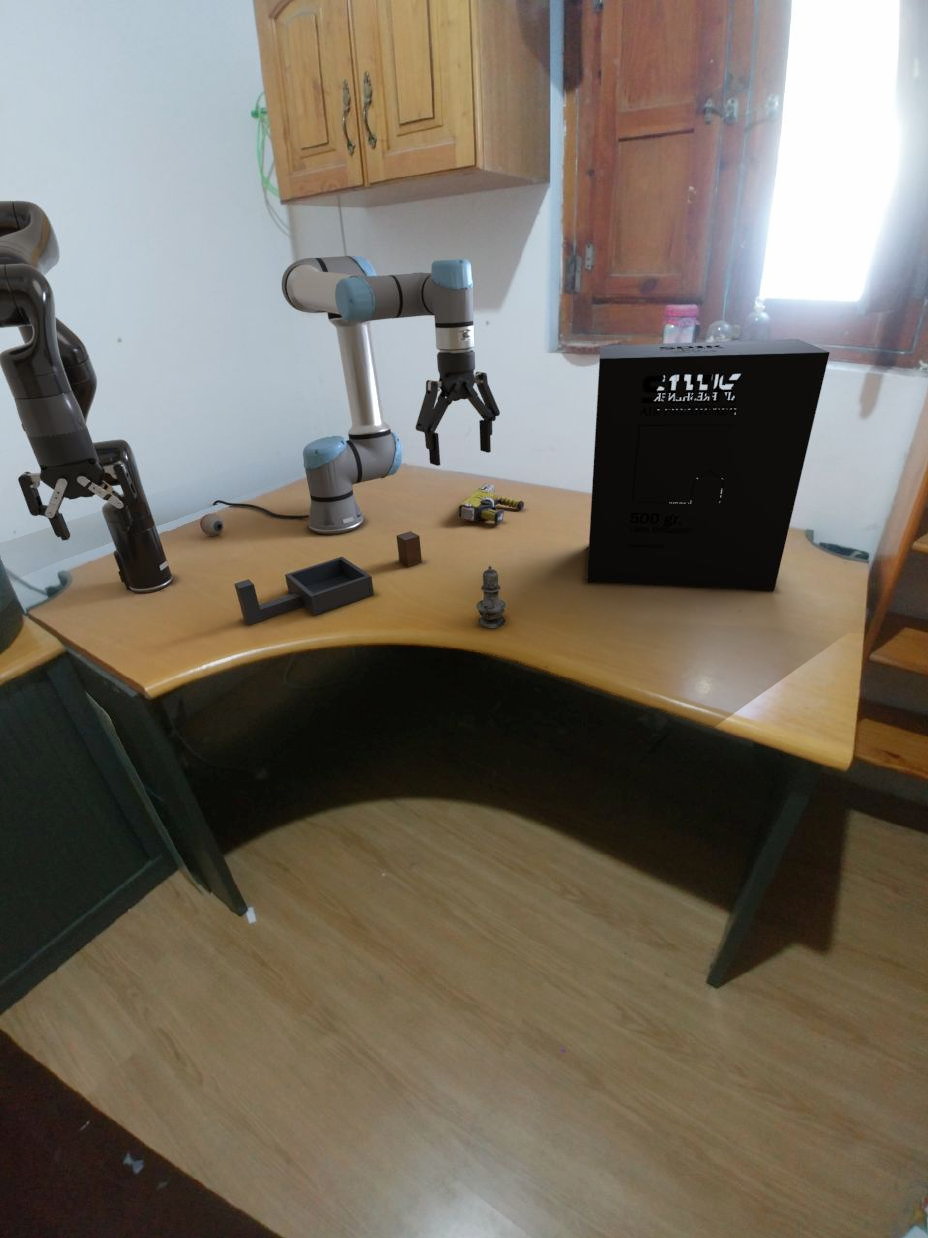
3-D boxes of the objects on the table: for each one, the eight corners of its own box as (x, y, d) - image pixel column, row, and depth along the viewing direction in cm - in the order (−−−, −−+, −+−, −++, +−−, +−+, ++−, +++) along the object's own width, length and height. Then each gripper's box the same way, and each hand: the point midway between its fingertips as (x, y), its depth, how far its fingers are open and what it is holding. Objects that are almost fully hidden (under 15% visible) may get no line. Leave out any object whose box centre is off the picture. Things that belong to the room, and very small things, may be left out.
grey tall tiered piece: (504, 629, 116) (503, 573, 110) (474, 627, 117) (471, 571, 111) (508, 614, 120) (507, 559, 114) (479, 612, 122) (477, 558, 116)
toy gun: (532, 488, 178) (484, 481, 182) (510, 513, 158) (457, 504, 162) (530, 504, 181) (483, 496, 185) (509, 529, 161) (456, 520, 165)
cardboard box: (754, 550, 140) (797, 339, 118) (774, 590, 123) (829, 352, 101) (589, 545, 148) (601, 345, 125) (586, 582, 131) (599, 358, 108)
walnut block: (399, 562, 146) (396, 535, 142) (413, 557, 147) (410, 530, 144) (408, 567, 143) (405, 540, 139) (422, 562, 145) (419, 535, 141)
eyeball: (213, 540, 164) (207, 519, 161) (198, 536, 167) (192, 516, 164) (231, 532, 168) (225, 512, 165) (216, 529, 171) (211, 509, 168)
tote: (258, 636, 118) (248, 598, 114) (235, 610, 128) (225, 574, 124) (374, 595, 131) (369, 559, 127) (345, 574, 141) (339, 540, 137)
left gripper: (115, 416, 90) (149, 518, 98) (7, 427, 87) (52, 532, 95) (106, 427, 84) (143, 535, 92) (-11, 439, 81) (38, 550, 89)
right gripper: (413, 359, 110) (422, 473, 121) (515, 344, 122) (516, 449, 133) (391, 356, 115) (402, 466, 126) (492, 342, 128) (494, 443, 138)
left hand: (96, 533), depth 94 cm, fingers open, 8 cm apart
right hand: (461, 457), depth 129 cm, fingers open, 13 cm apart
